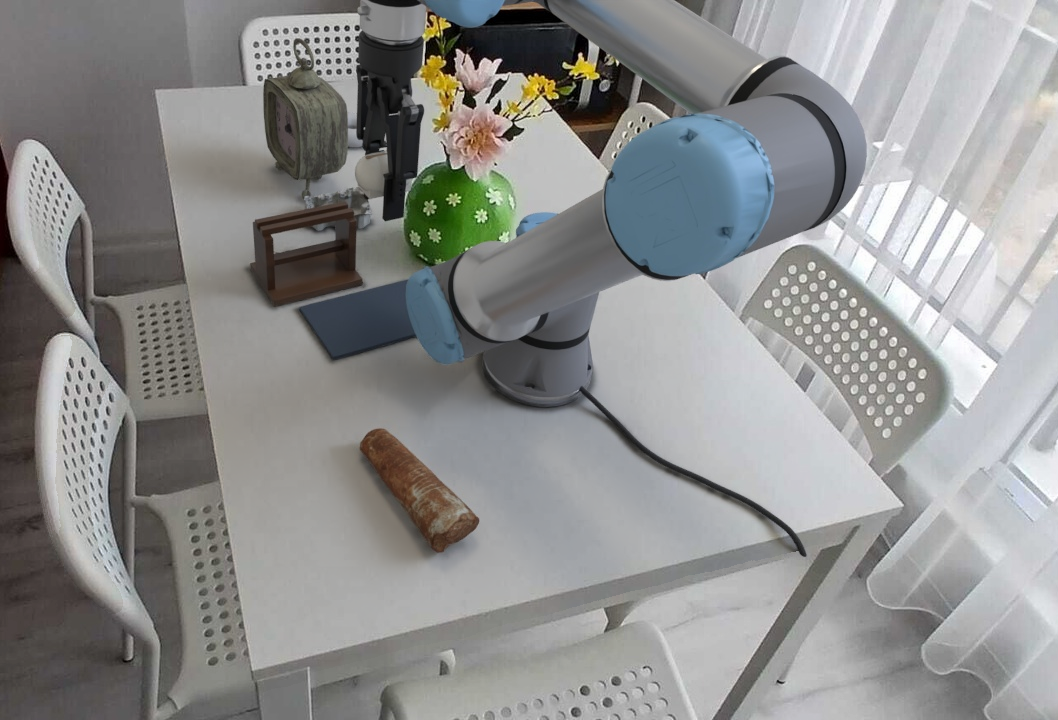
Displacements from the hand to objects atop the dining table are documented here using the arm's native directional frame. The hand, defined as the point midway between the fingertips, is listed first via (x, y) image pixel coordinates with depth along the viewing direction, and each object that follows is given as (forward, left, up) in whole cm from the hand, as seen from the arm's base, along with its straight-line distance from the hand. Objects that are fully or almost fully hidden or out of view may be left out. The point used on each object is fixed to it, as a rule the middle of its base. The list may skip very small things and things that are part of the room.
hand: (383, 206), depth 118 cm
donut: (+51, -19, -19) cm, 57 cm away
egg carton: (+26, -5, -19) cm, 32 cm away
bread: (-32, +12, -19) cm, 39 cm away
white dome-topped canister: (0, 0, +3) cm, 3 cm away
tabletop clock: (+39, -5, -19) cm, 43 cm away
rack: (+13, +6, -19) cm, 23 cm away
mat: (0, 0, -19) cm, 19 cm away
